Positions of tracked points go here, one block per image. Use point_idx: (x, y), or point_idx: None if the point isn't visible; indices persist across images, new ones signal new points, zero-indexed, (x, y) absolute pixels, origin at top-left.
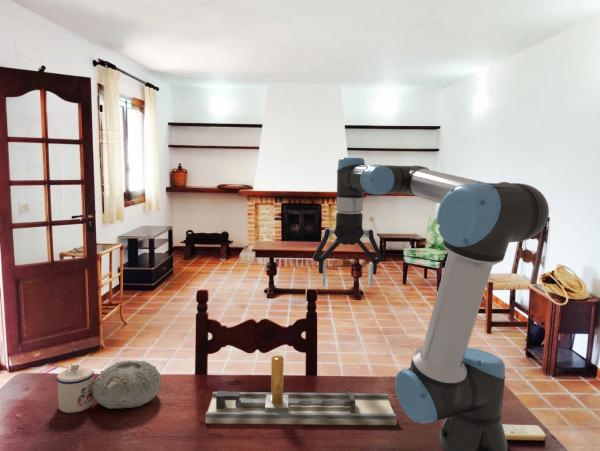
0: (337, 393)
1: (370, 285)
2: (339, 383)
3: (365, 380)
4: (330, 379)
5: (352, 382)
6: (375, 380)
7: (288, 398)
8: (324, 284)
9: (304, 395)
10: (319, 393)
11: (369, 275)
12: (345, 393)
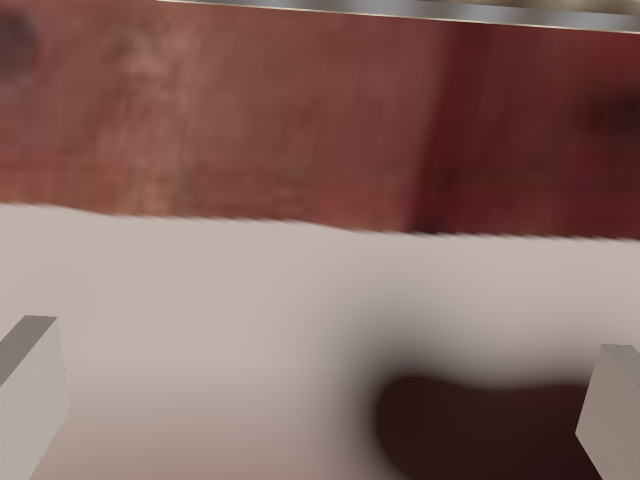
0: (368, 9)
1: (44, 323)
2: (327, 166)
3: (219, 187)
4: (357, 200)
5: (274, 172)
6: (179, 186)
7: (571, 3)
8: (617, 354)
9: (507, 7)
10: (444, 13)
11: (3, 449)
12: (333, 8)
